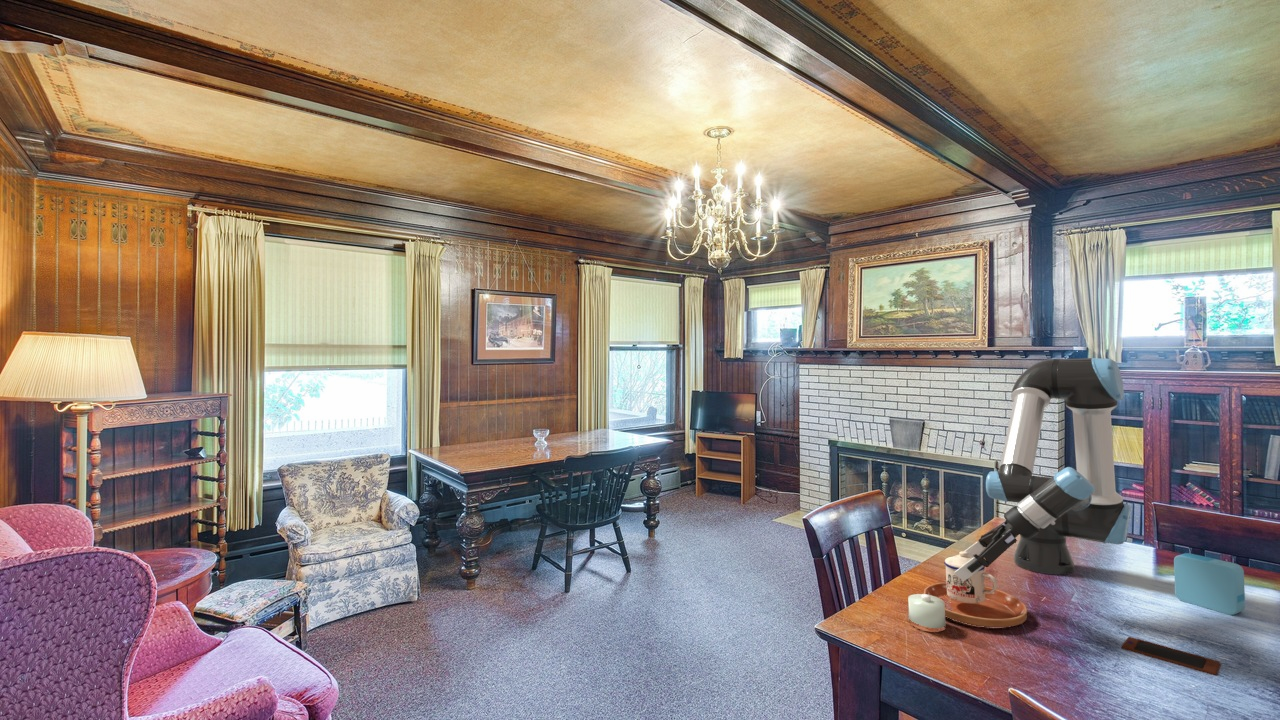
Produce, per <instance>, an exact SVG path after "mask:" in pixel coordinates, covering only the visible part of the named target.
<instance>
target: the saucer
mask: <svg viewBox="0 0 1280 720" xmlns="http://www.w3.org/2000/svg"><path fill="white" fill-rule="evenodd" d="M992 589H993V587H988V586H985V590H988V591H990V590H992ZM923 594H928V595H932V596H935V597H940V596H944V595H945V596H946V595H947V583H946V581H945V582H937V583H933V584H930V585H928V586H927V587H925V588H924V590H923ZM950 602H951V603H950V606H951V608H952V609H953V610H952V611H951V610H948V609H946V608H945V616H947V617H949V618H951V619H954V620H957V621H960V622H963V623H967V624H971V625H976V626H984V627H1009V626H1012V627H1014V626H1015V627H1016V626H1018V625H1022V624H1023V623H1024V622H1026V621H1027V618H1028V609H1027V607H1026V605H1025V604H1024V602H1022V601H1021V600H1020V599H1018V598H1017V597H1015V596H1014V595H1011V594H1009V593H1007V592H1005V591H1002V590H999V589H996V591H995V592H994V593H992V594H985V601H984V602H982V603H976V604H971V603H963V602H959V601H956V600H953V599H951V601H950ZM1009 628H1010V627H1009Z"/></svg>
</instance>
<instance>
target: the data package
mask: <svg viewBox="0 0 1280 720" xmlns="http://www.w3.org/2000/svg"><path fill="white" fill-rule="evenodd" d="M1173 569H1174V570H1173V572H1174V573H1173V574H1174V595H1175V597H1176V598H1177V599H1178V600H1179V601H1181V602H1184V603H1188V604H1191V605H1193V606H1197V607H1201V608H1205V609H1207V610H1211V611H1214V612H1219V613H1221V614H1222V613H1223V614H1225V615H1230V616H1233V615H1234V616H1235V615H1237V614H1239V613H1241V612H1243V611H1245V608H1246V596H1245V595H1246V593H1245V570H1244V569H1243V567H1242V566H1241V565H1240V564H1238V563H1235V562H1230V561H1225V560H1221V559H1219V558H1218V559H1217V558H1213V557H1208V556H1204V555H1199V554H1195V553H1190V552H1184V553H1181V554H1178V555H1176V556H1174V559H1173Z"/></svg>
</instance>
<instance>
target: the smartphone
mask: <svg viewBox="0 0 1280 720" xmlns="http://www.w3.org/2000/svg"><path fill="white" fill-rule="evenodd" d="M1120 647H1121V648H1120V649H1123V650H1125V651H1129V652H1131V653H1135V654H1138V655H1139V654H1140V655H1143V656H1144V657H1145V656H1146V657H1149V658H1153V659H1157V660H1159V661H1163V662H1167V663H1169V664H1174V665H1177V666H1181V667H1184V668H1187V669H1191V670H1193V671H1198V672H1200V673H1205V674H1209V675H1211V676H1215V677H1216V676H1217V675H1218V673H1219V671H1220V668H1221V665H1222V663H1221V661H1219V660H1216V659H1212V658H1208V657H1205V656H1201V655H1199V654H1195V653H1191V652H1187V651H1184V650H1179V649H1176V648H1172V647H1169V646H1166V645H1161V644H1158V643H1154V642H1151V641H1147V640H1144V639H1139V638H1136V637H1131V636H1128V637H1127V639H1126V640H1125V641H1124V642H1123V644H1122V645H1121V646H1120Z"/></svg>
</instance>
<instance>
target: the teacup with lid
mask: <svg viewBox="0 0 1280 720" xmlns="http://www.w3.org/2000/svg"><path fill="white" fill-rule="evenodd" d="M964 551H965V550H962V551H959V553H958V554H956V555H954V556H949V557H947V558H945V559H944V563H943V564H944V565H945V577H946V580H945V582H946V583H947V595H948V596H949V597H950V598H951V599H953V600H956V601H959V602H963V603H971V604H976V603H982V602H984V601H985V594H992V593H994V592H995V591H996V590H998V581H997V579H996V577H994V576H993V575H992V574H990V573H986V572H985V568H986V567H983V568H981V569H980V570H979V571H977V572H976V573H975V574H973V575H972V576H970V577H969V578H968V579H966V580H965V581H964V582H963V581H962V580H961V579H960V578H959V577H958V576H957V575H956V574H955V573H954V572H955V571H956V570H958V569H959V568H960V567H962V566H963V565H964V564H966V563H967V562H968V561H970V560H971V559H972V557H971V556H968V553H967V552H964ZM985 578H988V579H989V580H991V581H992V585H993V586H992V588H993V589H992V590H990V591H988V590H985V583H986V582H985Z"/></svg>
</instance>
